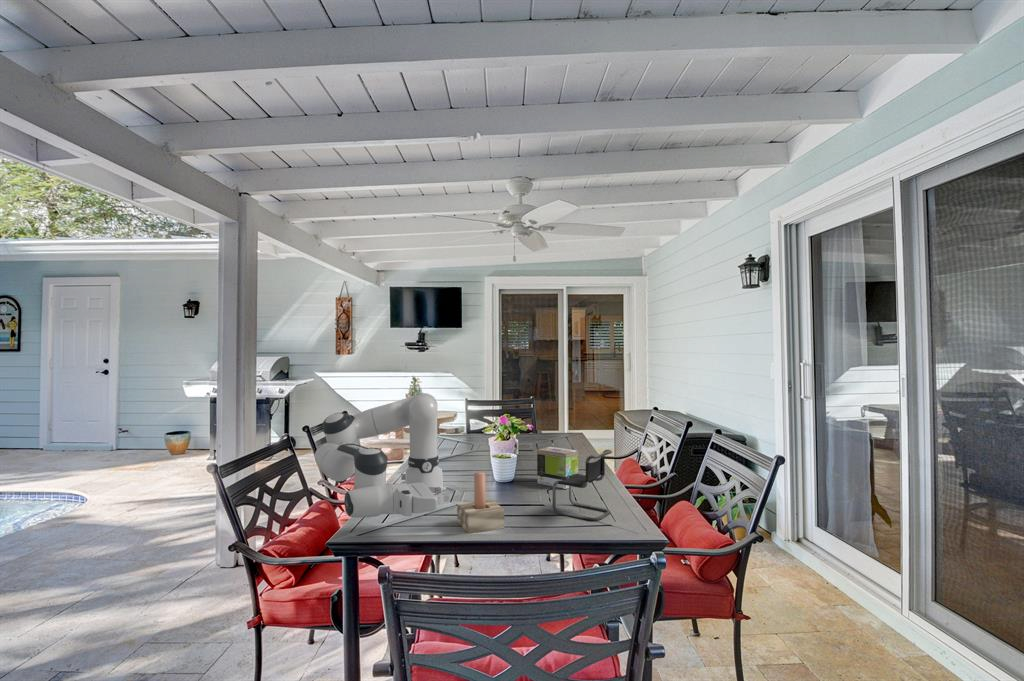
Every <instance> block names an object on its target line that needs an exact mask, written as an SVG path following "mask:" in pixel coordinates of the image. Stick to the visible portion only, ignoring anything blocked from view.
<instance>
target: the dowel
mask: <svg viewBox="0 0 1024 681" xmlns="http://www.w3.org/2000/svg"><path fill="white" fill-rule="evenodd" d="M473 476H474V477H473V482H474V483H473V484H474V485H473V486H474V487H473V488H474V489H473V490H474V495H473V497H474V500H473V502H474V503H475V509H484V508H486V500H487V499H486V498H487V497H486V473H485V472H481V471H479V472H478V471H477V472H475V473H473Z"/></svg>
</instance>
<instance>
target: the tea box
mask: <svg viewBox="0 0 1024 681" xmlns="http://www.w3.org/2000/svg"><path fill="white" fill-rule="evenodd" d="M536 456H537V457H536V458H537V459H536V466H537V468H536V471H537V472H536V474H537V475H536V476H537V482H536V483H537V484H538V485H544V486H548V487H553V484H554V482H556V481H561V480H566V479H568V478H570V477H571V476H572V475H573V474H579V450H578V449H569V448H563V447H556V446H555V447H554V446H547V447H544V448H543V447H542V448H538V449H537V451H536ZM556 488H558V489H564V490H567V489H569V486H567V485H562V484H557V485H556ZM572 488H573V486H572Z"/></svg>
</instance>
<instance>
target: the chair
mask: <svg viewBox="0 0 1024 681" xmlns="http://www.w3.org/2000/svg"><path fill="white" fill-rule="evenodd" d="M612 453H613V451H612V449H605V450H603V451H602V453H601V452H600V453H599V454H595V455H593V454H592V455H591V454H590V455H588V456H587V458H586V459H585V475H584V474H579V473H578V474H573V475H572V476H571V477H570V478H568V479H566V480H561V481H556V482H554V484H553V486H552V510H554V512H555V513H556V514H558V515H562V516H564V517H572V518H575V519H580V520H585V521H588V522H598V521H600V520H602V519H604V518H605V517H607V516H609V515H610V514H611V511H610V510H609V509H608V508H603V507H598V506H594V505H589V504H584V503H580V502H575V501H574V500H573V487H574V488H579V489H584V488H587V487H588V486H589V484H591V483H592V482H594V481H597V482H599V481H602V480H603V479H605V478H604V477H605V476H606V475H605V469H606V468H605V466H606V464H605V461H606V460H605V458H606V457H605V456H608V455H611V454H612ZM592 459H596V461H592V462H590V460H592ZM597 459H598V460H597ZM557 484H562V485H567V486H569V488H568V489H569V490H568V494H569V495H568V496H569V497H568V498H569V502H570V503H571V504H572V505H573V506H575V507H579V508H585V509H590V510H595V511H599V512H604V513H603V514H601V515H599V516H597V517H589V516H585V515H581V514H575V513H570V512H567V511H561V510H559V509H558V508H557V505H556V503H557V502H556V500H557V499H556V488H557V487H556V485H557ZM572 486H573V487H572Z"/></svg>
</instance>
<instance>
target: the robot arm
mask: <svg viewBox="0 0 1024 681" xmlns="http://www.w3.org/2000/svg"><path fill="white" fill-rule="evenodd" d="M406 427H409V429H408V430H409V456H408V459H407V468H406V470H405V473H402V474H401V476H400V478H401V479H400V480H401V481H402V482H400V483H393V484H391V483H390V484H387V485H386V483H387V467H388V460H389V459H388V456H387V455H386V453H385V452H384V451H383V450H381V449H378V448H371V447H367V446H362V444H361V441H360V440H361V439H367V438H372V437H374V438H375V437H378V436H380V435H384V434H388V433H392V432H395V431H399V430H401V429H403V428H406ZM322 432H323V434H324V437H325V439H326V440H325V441H326V442H325V443H323V444H321V445H320V446H319V447H318V448H316V451H315V453H314V461H315V463H316V465H317V467H318V469H319V470H320V472H322V473H323V474H324V475H325V476H326V477H327V478H328V479H330V480H331V481H335V482H343V481H347V480H348V479H350V478H351V477H353V475H354V477H353V478H354V479H353V480H354V483H353V485H354V486H353V488H352V489H351V490H347V491H346V493H345V495H344V500H343V501H344V508H345V509H344V510H345V512H346V514H347V516H348V517H350V518H361V519H362V518H374V517H375V518H376V517H379V516H382V515H401V516H403V517H406V518H407V517H412V516H413V514H415V515H417V514H422V513H423V514H424V513H428V512H433V511H435V510H438V508H439V506H438V505H440V504H442V503H443V502H449V501H450V495H449V494H448V493H444V494H442V495H437V494H441V493H442V491H445V490H447V486H446V485H445V484H444V483H443V482H444V481H443V469H442V467H440V466H439V461H440V459H439V455H438V402H437V400H436V398H435V396H433V395H432V394H429V393H426V392H425V393H424V392H423V393H418V394H416V395H411V396H409V397H405V398H402V399H399V400H396V401H393V402H391V403H385V404H382V405H380V406H376V407H372V408H369V409H365V410H363V411H360V412H358V413H356V414H354V415H352V414H348V413H346V412H336V413H333V414H331V415H328V416H327V417H326V418H325V419H324V420H323V421H322Z"/></svg>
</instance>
